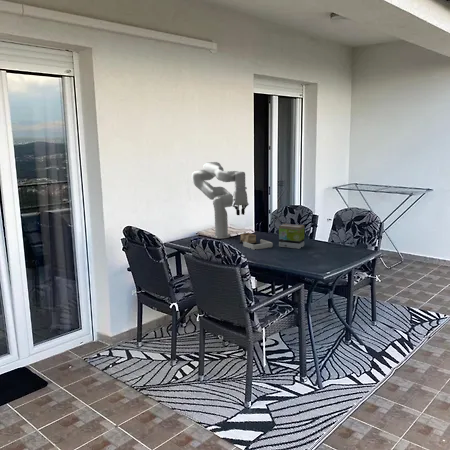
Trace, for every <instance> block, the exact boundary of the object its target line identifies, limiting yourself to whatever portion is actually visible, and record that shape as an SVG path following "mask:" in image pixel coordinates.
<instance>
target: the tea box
mask: <svg viewBox="0 0 450 450" xmlns="http://www.w3.org/2000/svg"><path fill="white" fill-rule="evenodd" d="M304 246H305V224H293V223H282V224H281V225H278V247H279V248H281V247H282V248H289V249H290V248H291V249H297V250H299V249H300V250H301V247H302V248H303V247H304Z"/></svg>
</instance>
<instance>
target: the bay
mask: <svg viewBox="0 0 450 450" xmlns="http://www.w3.org/2000/svg"><path fill="white" fill-rule="evenodd" d="M259 241H260V243H257V244H254V243H247V242H242V246H243V247H244V248H248V249H250V248H251V249H250V250H254V251H255V249H256V250H262V249H269V248H273V243H274V242H272V241H269V240H265V239H260V240H259Z"/></svg>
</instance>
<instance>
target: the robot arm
mask: <svg viewBox="0 0 450 450" xmlns="http://www.w3.org/2000/svg"><path fill="white" fill-rule="evenodd" d="M214 178H216V179H217V180H218V181H220V182H223V183H232V182H233V183H234V191H233V194H232V192H230V191H228V190H227V189H226V188H225V187H223V186H213V185H211V183H210V182H207V181H210V180H211V181H212V179H214ZM191 181H192V183H193V185H194V186H195V187H196V188H197V189H198V190H199V191H200V192H202V193H203V194H204V196H206V197H207V199H209V200H212V205H213V209H214V210H213V211H214V231H213V232H214V235H215V236H213V235H212V238H214V239H220V240H221V239H229V238H231V235H230V234H229V233H228V231H229V230H228V228H229V226H228V220H229V219H228V212H227V209H226V208H231V207H232V208H233V209H235V210H236V212H235V214H236V215H237V216H240V215H242V216H243V215H245V213H246V212H245V210H246V208H247V207H249V205H250V203H249V202H248V194H247V189H248V188H247V186H246V172H245V171H238V170H231V171H230V170H229V171H228V170H227V171H224V168H223V166H222V164H221V163H220V162H218V161H213V162H212V161H211V162H206V163H204V164H203V166H202V169H197V170H195V171H193V172H192V173H191ZM240 206H241V211H240ZM240 212H241V213H240Z"/></svg>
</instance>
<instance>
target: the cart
mask: <svg viewBox="0 0 450 450" xmlns="http://www.w3.org/2000/svg"><path fill="white" fill-rule="evenodd" d="M243 242H247V243H250V244H254V245H257V244H258V241H257V235H256V234H253V233H251V232H244V233H240V240H239V244H243Z"/></svg>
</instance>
